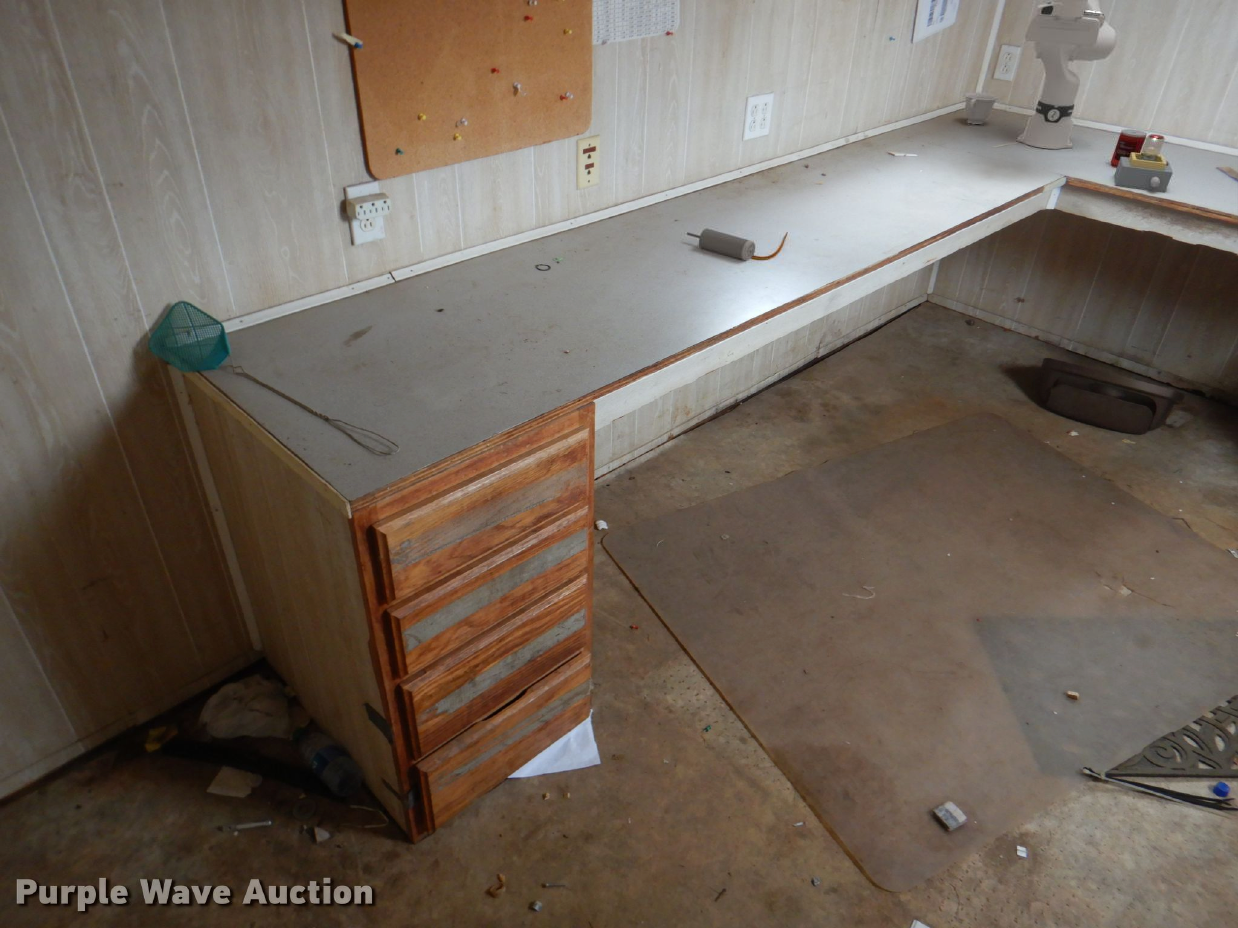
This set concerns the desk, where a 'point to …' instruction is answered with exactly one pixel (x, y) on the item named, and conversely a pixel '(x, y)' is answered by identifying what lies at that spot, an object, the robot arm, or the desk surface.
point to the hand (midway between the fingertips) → (1054, 59)
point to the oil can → (1152, 147)
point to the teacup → (978, 106)
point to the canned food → (1128, 144)
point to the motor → (730, 245)
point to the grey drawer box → (1143, 173)
